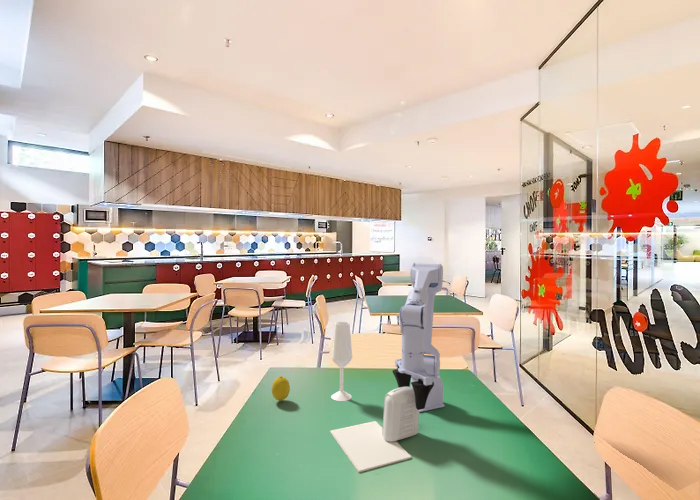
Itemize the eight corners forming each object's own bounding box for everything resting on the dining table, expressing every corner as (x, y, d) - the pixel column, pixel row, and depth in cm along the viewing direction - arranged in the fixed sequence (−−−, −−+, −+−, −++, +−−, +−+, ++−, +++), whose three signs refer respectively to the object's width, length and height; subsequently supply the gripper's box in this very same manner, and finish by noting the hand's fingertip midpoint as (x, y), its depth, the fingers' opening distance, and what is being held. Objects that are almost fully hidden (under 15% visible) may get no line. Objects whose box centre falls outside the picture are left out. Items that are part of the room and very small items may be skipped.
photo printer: (409, 427, 97) (411, 381, 97) (420, 434, 93) (423, 387, 93) (379, 436, 91) (382, 388, 91) (390, 444, 88) (393, 394, 88)
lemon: (268, 403, 110) (268, 377, 110) (278, 396, 116) (278, 372, 115) (283, 406, 108) (283, 380, 108) (292, 399, 113) (293, 374, 113)
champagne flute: (353, 393, 119) (354, 321, 118) (349, 402, 112) (350, 326, 111) (333, 391, 120) (334, 320, 119) (329, 400, 113) (329, 325, 113)
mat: (375, 422, 99) (375, 420, 99) (411, 458, 83) (411, 456, 83) (330, 432, 94) (330, 430, 94) (358, 472, 78) (358, 470, 78)
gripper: (385, 345, 98) (385, 393, 99) (415, 361, 85) (414, 417, 85) (407, 342, 101) (407, 389, 101) (439, 357, 88) (438, 412, 88)
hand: (412, 402), depth 93 cm, fingers open, 7 cm apart
